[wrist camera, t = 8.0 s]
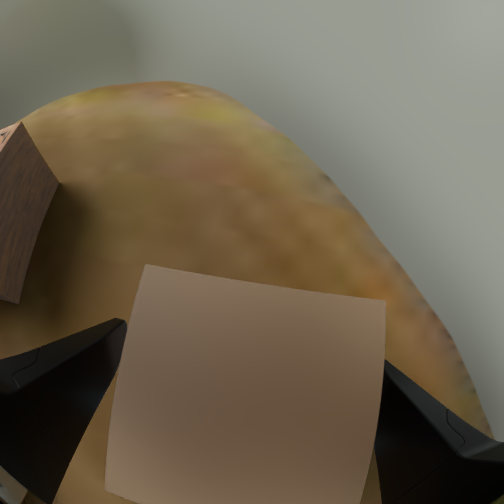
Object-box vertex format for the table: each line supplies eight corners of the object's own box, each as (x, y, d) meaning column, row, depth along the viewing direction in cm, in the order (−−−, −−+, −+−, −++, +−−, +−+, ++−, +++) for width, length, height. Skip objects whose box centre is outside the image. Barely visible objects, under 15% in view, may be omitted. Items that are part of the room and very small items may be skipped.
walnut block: (271, 424, 14) (353, 522, 3) (198, 413, 14) (104, 489, 3) (281, 356, 16) (385, 300, 5) (210, 345, 16) (145, 263, 5)
